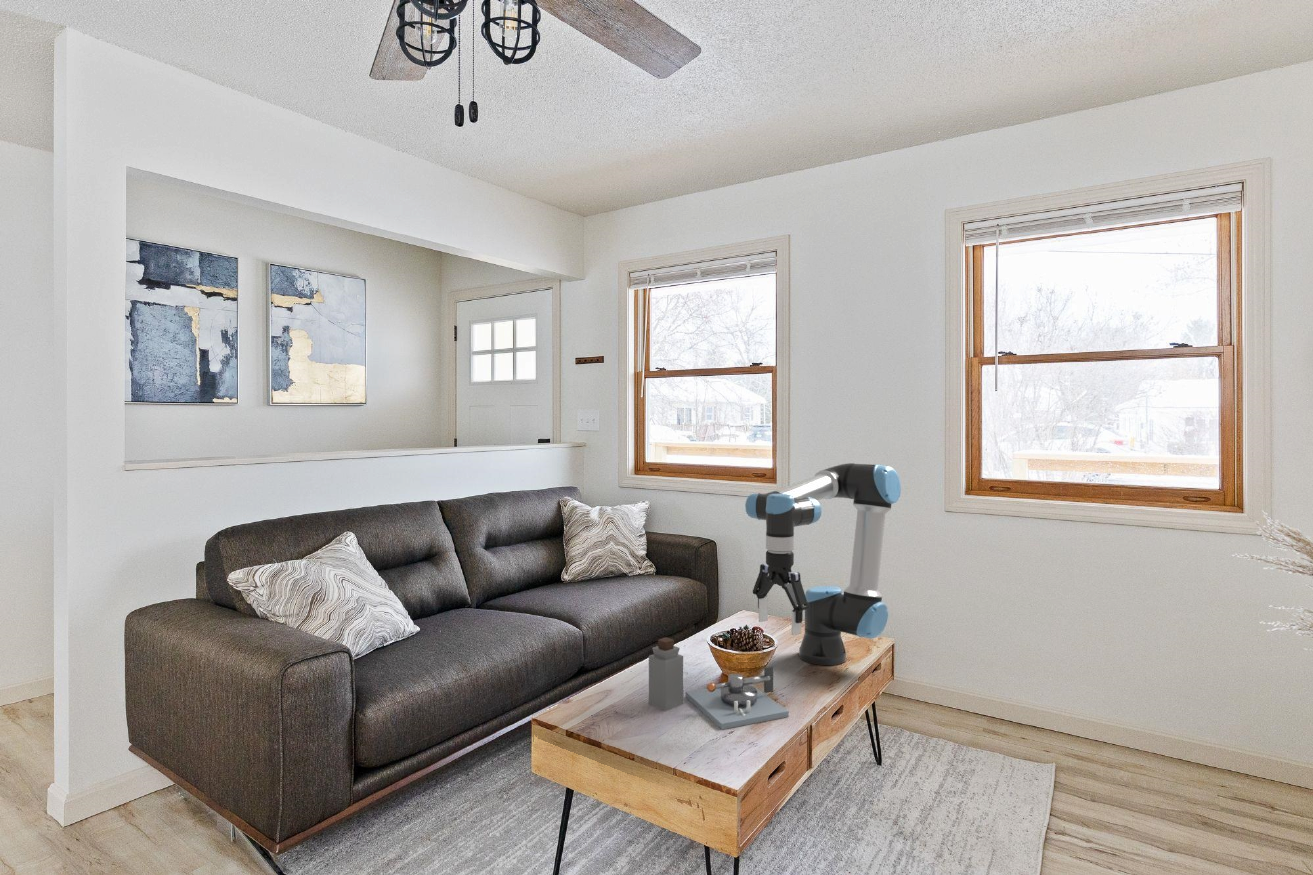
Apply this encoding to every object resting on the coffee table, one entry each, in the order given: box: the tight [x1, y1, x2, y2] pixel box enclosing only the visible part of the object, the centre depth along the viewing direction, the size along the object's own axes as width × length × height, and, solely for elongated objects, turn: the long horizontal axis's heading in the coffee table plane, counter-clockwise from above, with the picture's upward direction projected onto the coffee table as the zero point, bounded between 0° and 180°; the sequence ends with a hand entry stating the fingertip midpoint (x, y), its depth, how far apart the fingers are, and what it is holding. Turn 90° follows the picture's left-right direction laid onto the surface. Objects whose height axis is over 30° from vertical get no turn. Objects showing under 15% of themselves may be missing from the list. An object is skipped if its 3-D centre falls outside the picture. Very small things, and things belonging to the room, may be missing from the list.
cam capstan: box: [706, 665, 774, 706], centre depth 194 cm, size 20×10×7 cm, turn 112°
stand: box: [685, 684, 790, 730], centre depth 193 cm, size 20×22×4 cm
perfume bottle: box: [648, 636, 684, 712], centre depth 195 cm, size 7×7×18 cm
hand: (779, 627), depth 193 cm, fingers open, 13 cm apart
